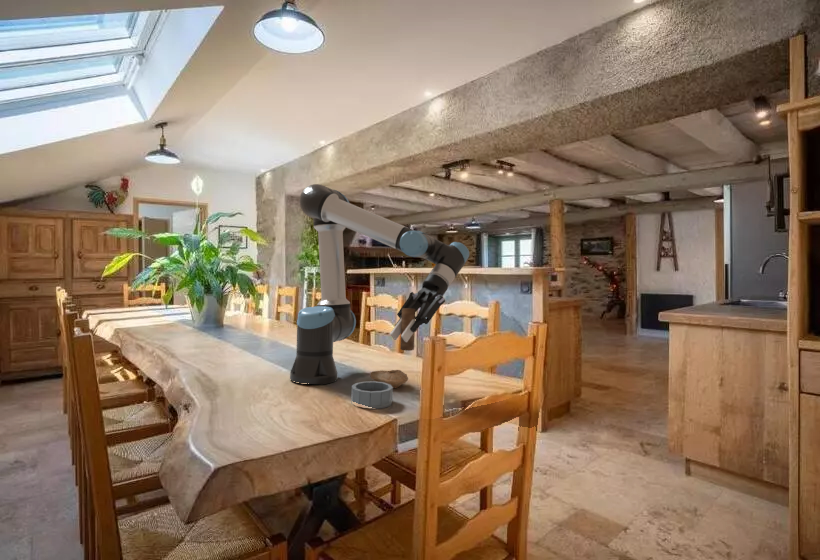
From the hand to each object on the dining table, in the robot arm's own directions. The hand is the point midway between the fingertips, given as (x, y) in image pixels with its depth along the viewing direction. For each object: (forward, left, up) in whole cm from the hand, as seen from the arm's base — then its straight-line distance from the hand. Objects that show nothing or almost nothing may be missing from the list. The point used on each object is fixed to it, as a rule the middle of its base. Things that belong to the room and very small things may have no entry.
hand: (398, 337), depth 125 cm
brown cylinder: (+2, +3, -4) cm, 5 cm away
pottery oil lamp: (-6, +11, -17) cm, 22 cm away
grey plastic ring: (-5, -8, -17) cm, 19 cm away
